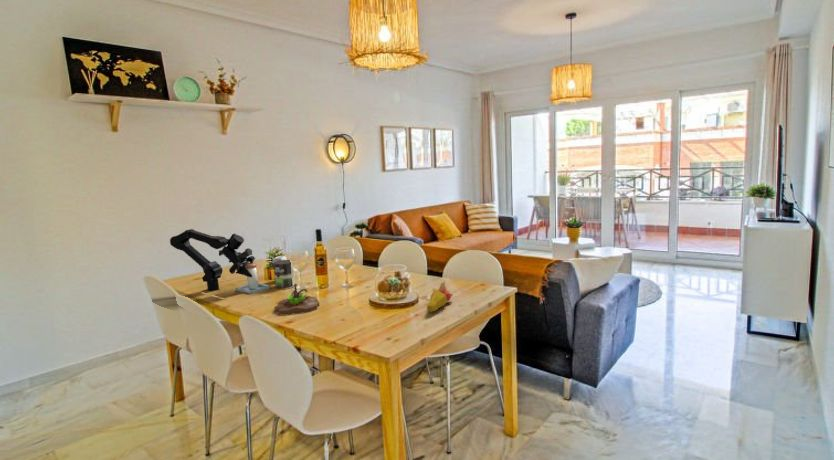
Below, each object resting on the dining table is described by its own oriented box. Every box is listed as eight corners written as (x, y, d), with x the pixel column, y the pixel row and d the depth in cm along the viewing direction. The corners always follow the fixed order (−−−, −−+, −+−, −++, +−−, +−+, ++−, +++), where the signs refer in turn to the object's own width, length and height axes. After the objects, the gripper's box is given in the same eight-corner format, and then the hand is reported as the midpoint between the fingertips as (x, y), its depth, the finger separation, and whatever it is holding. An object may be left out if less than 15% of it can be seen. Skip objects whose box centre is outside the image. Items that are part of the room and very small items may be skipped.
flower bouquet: (428, 323, 197) (443, 298, 219) (443, 316, 194) (457, 291, 216) (418, 307, 196) (434, 284, 219) (433, 300, 193) (447, 277, 215)
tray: (236, 291, 248) (235, 287, 247) (255, 286, 257) (255, 282, 257) (251, 295, 239) (250, 291, 239) (271, 289, 248) (270, 285, 248)
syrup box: (284, 283, 260) (282, 258, 258) (274, 283, 261) (272, 258, 259) (289, 280, 265) (286, 255, 263) (279, 280, 267) (277, 256, 264)
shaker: (245, 288, 245) (243, 265, 243) (250, 285, 251) (248, 263, 249) (255, 288, 245) (253, 265, 243) (260, 285, 250) (257, 263, 248)
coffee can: (287, 290, 245) (284, 264, 243) (271, 289, 249) (268, 263, 247) (298, 285, 255) (296, 260, 253) (283, 284, 259) (281, 259, 256)
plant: (319, 299, 228) (317, 277, 226) (319, 311, 209) (317, 287, 207) (277, 303, 224) (275, 281, 222) (273, 316, 205) (271, 292, 203)
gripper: (232, 248, 235) (254, 269, 236) (250, 241, 254) (271, 260, 254) (219, 263, 238) (242, 284, 238) (238, 255, 256) (259, 274, 256)
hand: (254, 275), depth 246 cm, fingers closed on shaker, 5 cm apart
